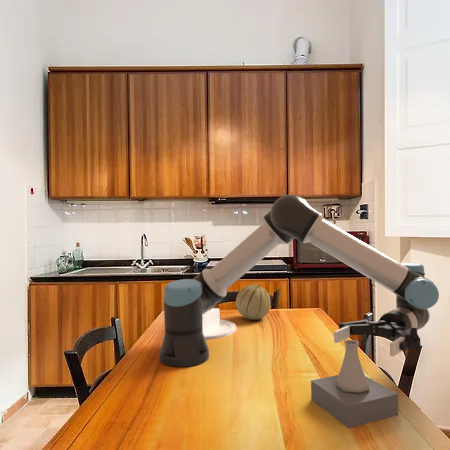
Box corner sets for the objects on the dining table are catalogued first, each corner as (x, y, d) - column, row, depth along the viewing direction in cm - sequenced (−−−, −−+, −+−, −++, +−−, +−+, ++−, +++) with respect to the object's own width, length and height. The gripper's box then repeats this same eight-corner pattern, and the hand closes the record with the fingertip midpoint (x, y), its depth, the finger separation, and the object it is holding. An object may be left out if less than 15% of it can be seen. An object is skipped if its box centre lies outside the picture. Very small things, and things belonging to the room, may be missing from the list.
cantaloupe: (235, 315, 166) (234, 281, 165) (267, 314, 166) (266, 280, 166) (238, 324, 151) (237, 287, 151) (274, 323, 152) (273, 286, 152)
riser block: (348, 430, 74) (348, 406, 74) (311, 401, 87) (311, 380, 86) (398, 417, 79) (398, 393, 79) (356, 391, 91) (356, 371, 91)
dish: (180, 321, 159) (179, 295, 159) (238, 322, 156) (238, 295, 156) (164, 340, 134) (163, 308, 134) (233, 340, 131) (232, 309, 131)
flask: (375, 393, 79) (374, 346, 79) (342, 394, 79) (340, 347, 79) (361, 379, 87) (360, 336, 87) (331, 380, 86) (330, 337, 86)
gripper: (449, 348, 93) (419, 374, 78) (354, 329, 111) (315, 347, 96) (448, 318, 93) (418, 338, 78) (354, 304, 111) (315, 318, 96)
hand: (361, 343), depth 87 cm, fingers open, 13 cm apart
